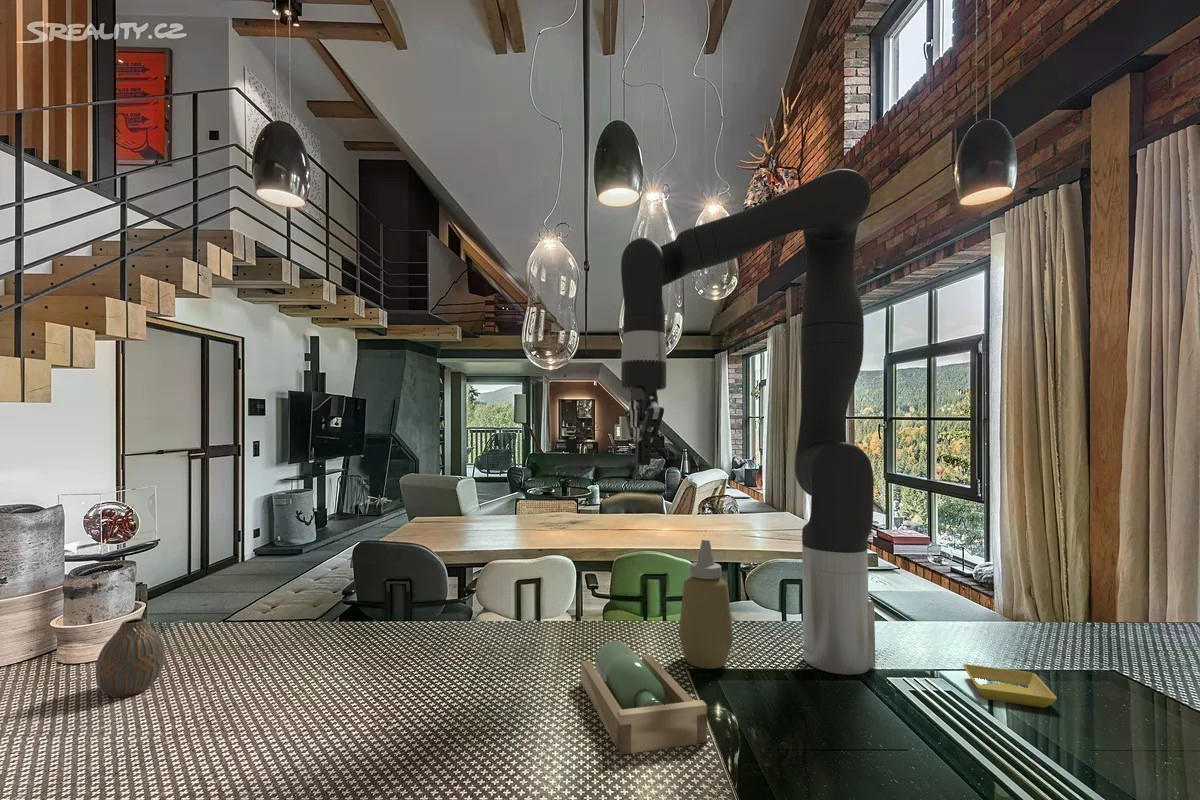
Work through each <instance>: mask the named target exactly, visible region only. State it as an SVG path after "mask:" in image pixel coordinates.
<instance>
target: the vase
mask: <svg viewBox="0 0 1200 800" xmlns="http://www.w3.org/2000/svg"><path fill="white" fill-rule="evenodd" d="M165 650H166V649H165V645H164V642H163V639H162V637H161V636H160V635H159V634H158V633H157V632H156V631H155V630H154V629H153V627H151V626H150V625H149V623H148V621H147V619H146V618H143V617H138V618H136V617H135V618H130V619H127V620H124V621H123V622H121V624H120V626H119V628H118V629H117V631H116V632H115V633H114V634H113V635H112V636H111V637H110V638H109V639H108V641H106V642H105V644H104V646H103V647H102V648H101V650H100V653H99V655H98V657H97V659H96V664H95V680H96V683H97V685H98V686H97V687H99V689H100V690H101V691H102V692H103V693H104V694H105V695H108V696H109V697H112V698H123V697H129V696H133V695H136V694H139V693H142V692H144V691H146V690H147V689H148V688H150V687H151V686H152V685H153V684H154V683H155V681H157V679H158V678H159V676H160V674H161V673H162V670H163V667H164V664H165V659H166V657H165V656H166V651H165Z"/></svg>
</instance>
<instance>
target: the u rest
mask: <svg viewBox="0 0 1200 800" xmlns="http://www.w3.org/2000/svg"><path fill="white" fill-rule="evenodd" d="M641 656H642V657H641V659H642V660H641V662H642V663H643V664H644V665H645V666H646V667H647V668H648V670H649V671H650V672H651V673H652V674H653V675H654V677H655V678H656V679H657V680H658V681H659V682H660V684H661V685H662V687H663V690H664V704H665V705H664V704H663V705H656V706H648V707H640V708H631V709H623V710H622V709H621V707H620V706H619V704H618V703H617V701H616V700H615V698H614V697H613V695H612V694H611V692H610V691H609V689H608V688H607V686H606V684H605V683H604V681H603V680H602V678H601V677H600V675H599V673H598V672H597V669H596V667H595V666H594V664H593V663H592V662H591V660H583V661H580V665H581V666H580V685H581V684H582V685H581V687H582V686H583V687H582V688H584V689H583V691H584V690H585V691H586V693H587V694H586V693H585V694H586V696H587V695H588V696H587V698H588V697H589V698H590V700H591V701H590V700H589V701H590V703H591V702H592V703H591V705H592V704H593V705H592V707H593V706H594V707H595V709H596V710H595V709H594V710H595V712H596V711H597V712H596V714H597V713H598V714H597V715H599V716H598V718H599V720H600V721H601V723H602V722H603V723H602V725H603V724H604V725H603V726H604V728H605V730H606V732H607V734H608V733H609V734H608V736H609V737H610V739H611V741H612V742H613V744H614V746H615V747H616V750H617V752H618V753H619V755H628V754H634V753H635V754H636V753H642V752H649V751H650V752H651V751H657V750H663V749H671V748H672V749H673V748H678V747H683V746H684V747H685V746H691V745H698V744H705V743H708V704H707V703H706V702H705V701H704V700H702V699H700V700H699V699H698V700H694V699H693V698H692V697H691V696H690V694H689V693H687V692H686V690H685V689H683V688H682V687H681V686H680V684H679V683H678V682H677V681H676V680H675V679H674V678H673V676H671V675H670V674H669V673H668V672H667V671H666V669H664V668H663V666H661V664H660V663H659V662H658V661H657V660H656V659H655V658H654V657H653V656H652V655H651V654H645V655H641ZM585 691H584V692H585ZM589 698H588V699H589ZM594 707H593V708H594Z"/></svg>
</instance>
